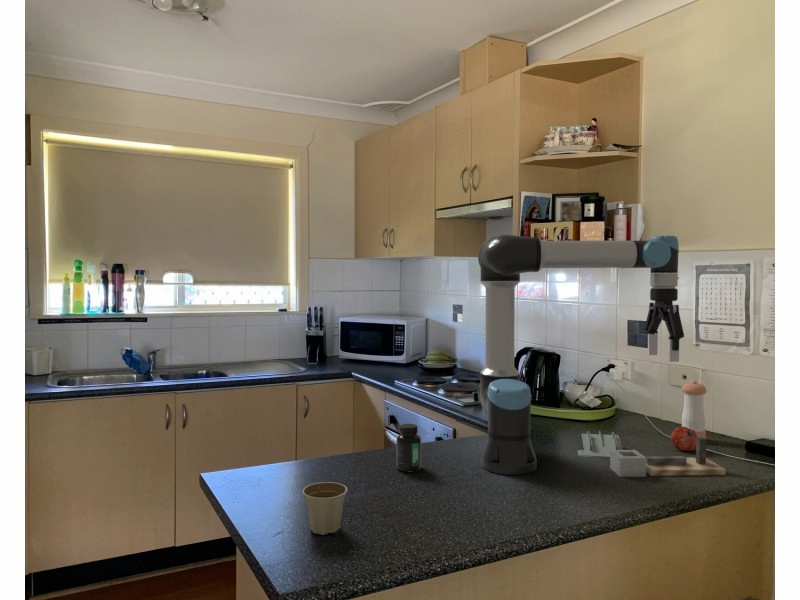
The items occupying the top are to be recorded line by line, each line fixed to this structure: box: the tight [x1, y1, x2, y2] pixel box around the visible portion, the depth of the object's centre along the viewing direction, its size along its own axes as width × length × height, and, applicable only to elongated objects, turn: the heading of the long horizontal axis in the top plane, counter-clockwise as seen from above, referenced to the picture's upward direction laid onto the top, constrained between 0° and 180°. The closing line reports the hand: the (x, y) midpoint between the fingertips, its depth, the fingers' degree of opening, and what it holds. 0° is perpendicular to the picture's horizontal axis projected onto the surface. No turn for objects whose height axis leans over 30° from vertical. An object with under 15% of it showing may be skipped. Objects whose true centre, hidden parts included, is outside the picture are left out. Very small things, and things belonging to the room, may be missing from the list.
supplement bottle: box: [395, 423, 422, 472], centre depth 162 cm, size 7×7×12 cm
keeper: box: [644, 437, 727, 477], centre depth 161 cm, size 20×10×8 cm, turn 91°
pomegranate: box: [670, 426, 697, 452], centre depth 178 cm, size 7×7×10 cm
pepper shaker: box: [681, 380, 707, 440], centre depth 188 cm, size 7×7×19 cm
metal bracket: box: [577, 430, 624, 459], centre depth 178 cm, size 14×6×15 cm
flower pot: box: [302, 481, 349, 533], centre depth 124 cm, size 9×9×9 cm
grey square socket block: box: [609, 449, 647, 478], centre depth 159 cm, size 7×7×5 cm
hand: (662, 358), depth 177 cm, fingers open, 13 cm apart
